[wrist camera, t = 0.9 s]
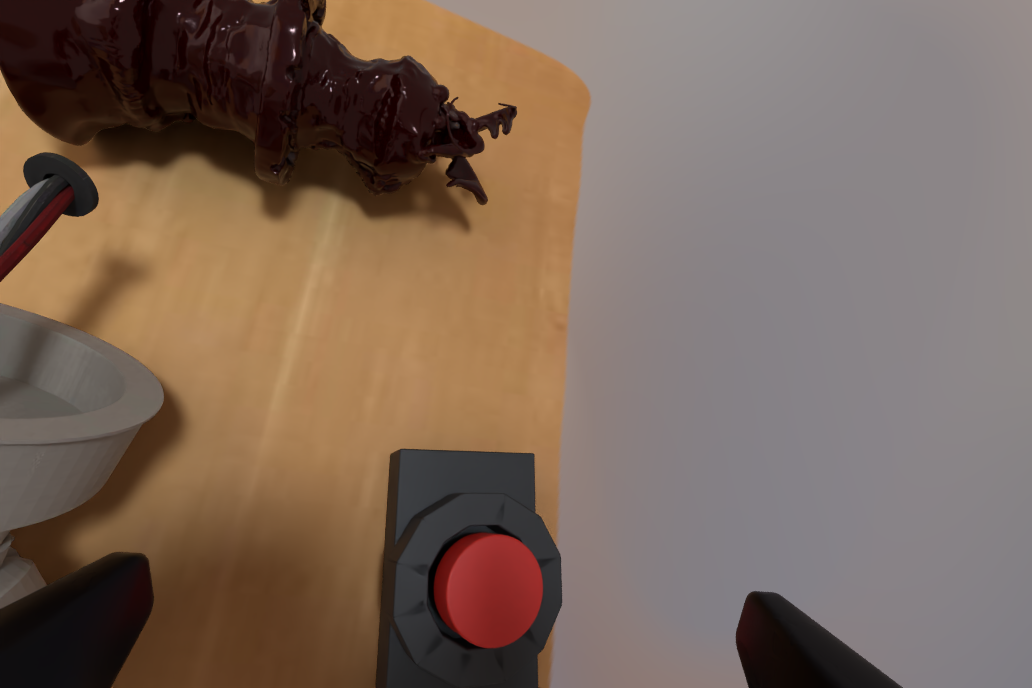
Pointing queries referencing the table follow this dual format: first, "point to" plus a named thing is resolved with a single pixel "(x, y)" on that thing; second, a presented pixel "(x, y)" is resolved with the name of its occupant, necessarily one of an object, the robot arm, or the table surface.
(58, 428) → the light fixture
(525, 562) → the button
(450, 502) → the switch block
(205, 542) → the table surface
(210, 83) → the figurine
